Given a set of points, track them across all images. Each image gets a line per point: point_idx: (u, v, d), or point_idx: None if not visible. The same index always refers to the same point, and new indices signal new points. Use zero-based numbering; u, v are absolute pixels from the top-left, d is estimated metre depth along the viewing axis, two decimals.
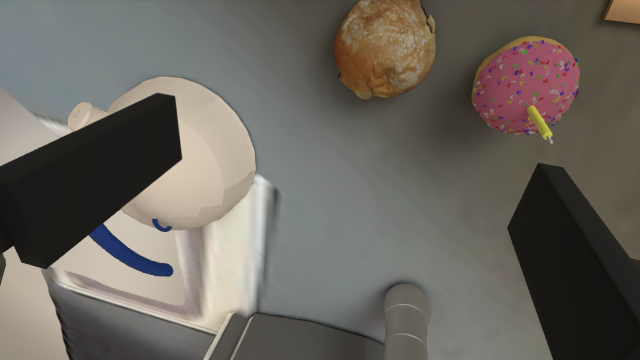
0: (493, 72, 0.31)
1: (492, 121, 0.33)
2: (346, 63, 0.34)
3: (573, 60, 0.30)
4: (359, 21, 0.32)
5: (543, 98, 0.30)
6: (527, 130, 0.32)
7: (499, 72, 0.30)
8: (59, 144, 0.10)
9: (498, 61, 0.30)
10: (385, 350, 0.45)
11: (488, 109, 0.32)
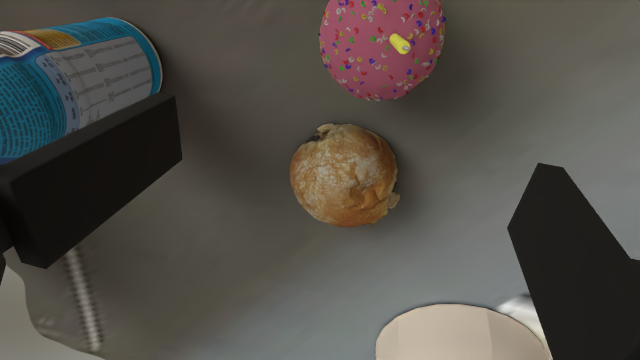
0: (352, 87, 0.25)
1: (417, 77, 0.24)
2: (349, 225, 0.33)
3: None
4: (310, 209, 0.33)
5: (379, 28, 0.22)
6: (432, 29, 0.22)
7: (350, 82, 0.25)
8: (59, 144, 0.10)
9: (340, 82, 0.26)
10: None
11: (398, 86, 0.25)
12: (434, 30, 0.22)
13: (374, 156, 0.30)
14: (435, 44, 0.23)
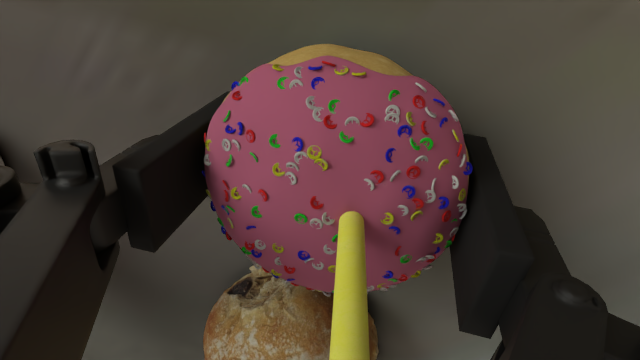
0: None
1: (408, 275, 0.11)
2: None
3: (232, 96, 0.10)
4: None
5: (313, 199, 0.09)
6: (443, 198, 0.09)
7: (269, 271, 0.12)
8: (164, 138, 0.10)
9: None
10: None
11: (368, 290, 0.12)
12: (447, 200, 0.09)
13: None
14: (448, 222, 0.10)
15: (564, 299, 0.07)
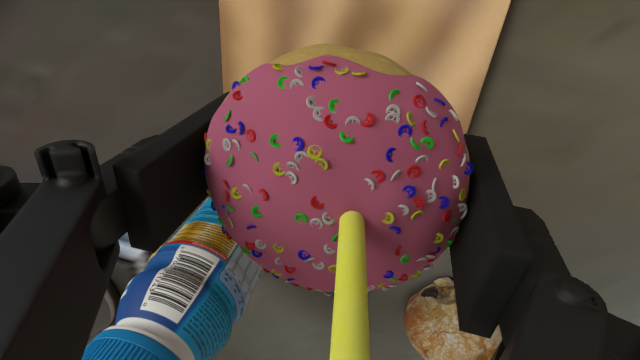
0: None
1: (408, 275, 0.11)
2: None
3: None
4: (428, 359, 0.35)
5: (313, 198, 0.09)
6: (443, 198, 0.09)
7: (269, 271, 0.12)
8: (165, 138, 0.10)
9: (253, 259, 0.13)
10: None
11: (368, 289, 0.11)
12: (447, 200, 0.09)
13: None
14: (449, 222, 0.10)
15: (564, 299, 0.07)
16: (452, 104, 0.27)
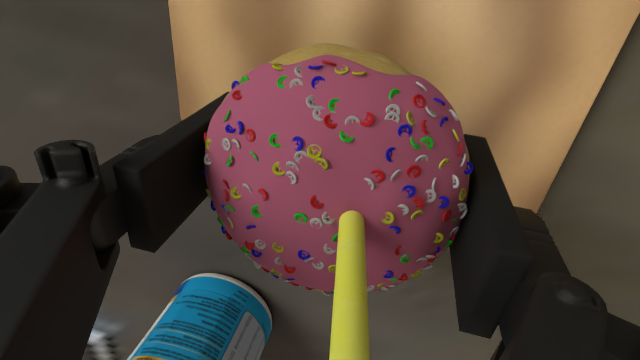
0: None
1: (408, 275, 0.11)
2: None
3: (232, 95, 0.10)
4: None
5: (313, 198, 0.09)
6: (443, 197, 0.09)
7: (269, 271, 0.12)
8: (165, 138, 0.10)
9: (253, 259, 0.13)
10: None
11: (368, 289, 0.11)
12: (447, 199, 0.09)
13: None
14: (448, 222, 0.10)
15: (564, 299, 0.07)
16: None
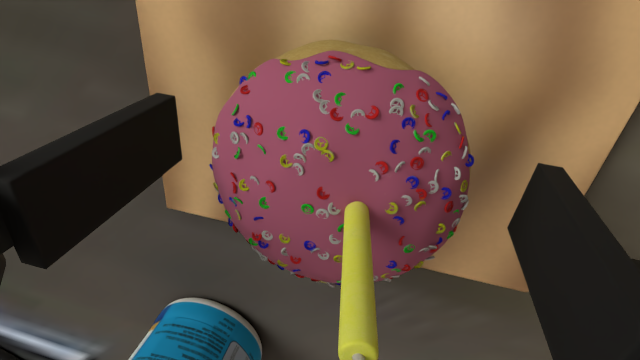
0: (281, 266, 0.13)
1: (411, 265, 0.11)
2: None
3: (240, 90, 0.10)
4: None
5: (319, 189, 0.09)
6: (445, 189, 0.10)
7: (275, 262, 0.12)
8: (59, 144, 0.10)
9: None
10: None
11: None
12: (449, 191, 0.10)
13: None
14: (450, 213, 0.10)
15: None
16: None
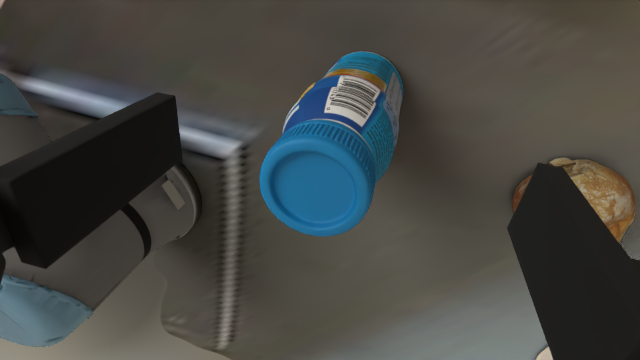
0: None
1: None
2: None
3: None
4: None
5: None
6: None
7: None
8: (59, 144, 0.10)
9: None
10: None
11: None
12: None
13: (629, 194, 0.32)
14: None
15: None
16: None
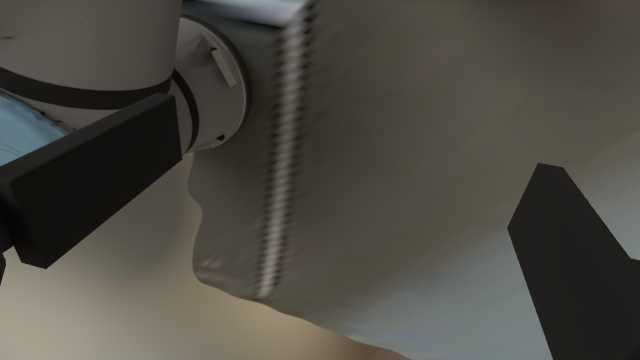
0: None
1: None
2: None
3: None
4: None
5: None
6: None
7: None
8: (59, 144, 0.10)
9: None
10: None
11: None
12: None
13: None
14: None
15: None
16: None
